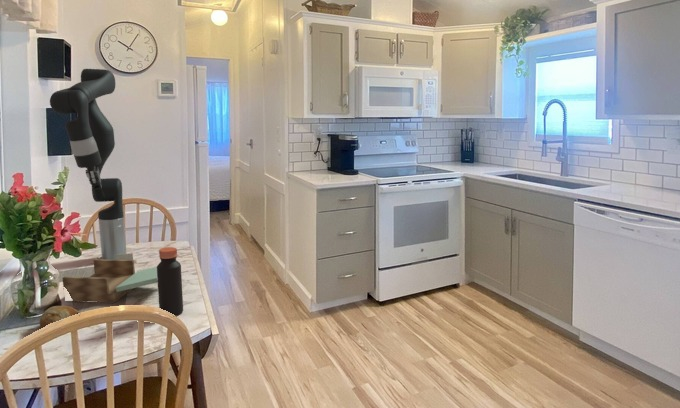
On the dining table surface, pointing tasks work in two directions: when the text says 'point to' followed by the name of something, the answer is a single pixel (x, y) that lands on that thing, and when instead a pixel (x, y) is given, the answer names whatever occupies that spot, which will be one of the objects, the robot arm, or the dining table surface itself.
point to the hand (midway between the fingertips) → (101, 198)
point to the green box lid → (139, 279)
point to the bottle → (169, 281)
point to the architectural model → (126, 257)
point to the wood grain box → (101, 281)
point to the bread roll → (56, 314)
